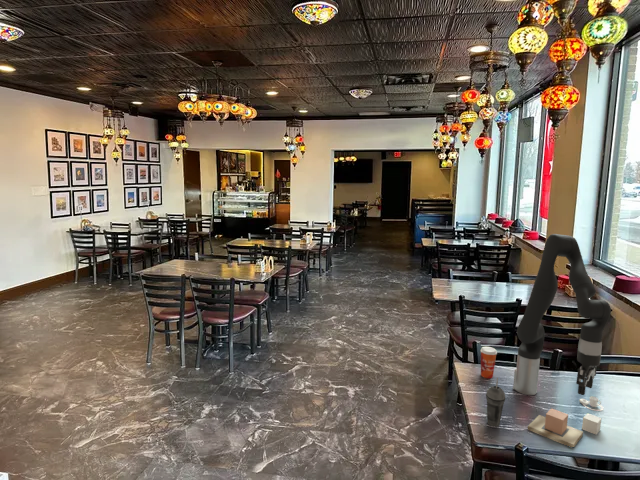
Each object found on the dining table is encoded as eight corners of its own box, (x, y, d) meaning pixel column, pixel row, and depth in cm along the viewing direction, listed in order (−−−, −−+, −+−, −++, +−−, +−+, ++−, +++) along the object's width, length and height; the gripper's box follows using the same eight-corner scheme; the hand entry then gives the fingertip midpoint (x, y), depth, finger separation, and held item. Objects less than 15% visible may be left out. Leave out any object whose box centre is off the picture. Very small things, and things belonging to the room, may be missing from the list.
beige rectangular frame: (527, 429, 168) (528, 425, 168) (539, 418, 176) (539, 414, 176) (572, 448, 157) (573, 444, 156) (582, 435, 165) (583, 431, 165)
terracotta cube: (544, 428, 166) (546, 413, 166) (550, 422, 170) (551, 408, 170) (561, 435, 162) (563, 420, 161) (566, 428, 166) (568, 414, 165)
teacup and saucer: (576, 403, 190) (577, 394, 189) (588, 400, 193) (589, 391, 192) (595, 413, 182) (596, 404, 181) (607, 409, 185) (609, 400, 184)
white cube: (581, 429, 169) (583, 417, 168) (585, 424, 172) (587, 413, 172) (596, 435, 166) (597, 423, 165) (600, 430, 169) (601, 418, 168)
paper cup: (480, 378, 210) (482, 351, 208) (477, 371, 218) (479, 345, 216) (497, 380, 209) (499, 352, 207) (493, 373, 217) (495, 346, 215)
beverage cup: (502, 420, 174) (506, 374, 171) (503, 430, 167) (508, 382, 164) (483, 416, 176) (487, 371, 173) (483, 426, 170) (487, 378, 167)
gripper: (584, 343, 171) (580, 381, 173) (571, 352, 161) (567, 392, 164) (606, 349, 165) (601, 388, 168) (594, 359, 156) (589, 400, 158)
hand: (584, 390), depth 166 cm, fingers open, 8 cm apart
